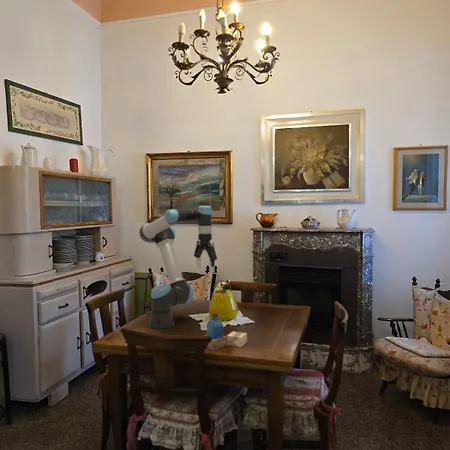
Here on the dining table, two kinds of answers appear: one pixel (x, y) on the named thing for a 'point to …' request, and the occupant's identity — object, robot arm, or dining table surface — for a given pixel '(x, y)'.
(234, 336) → the beech block
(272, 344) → the dining table surface
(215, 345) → the walnut block
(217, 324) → the blue carton
